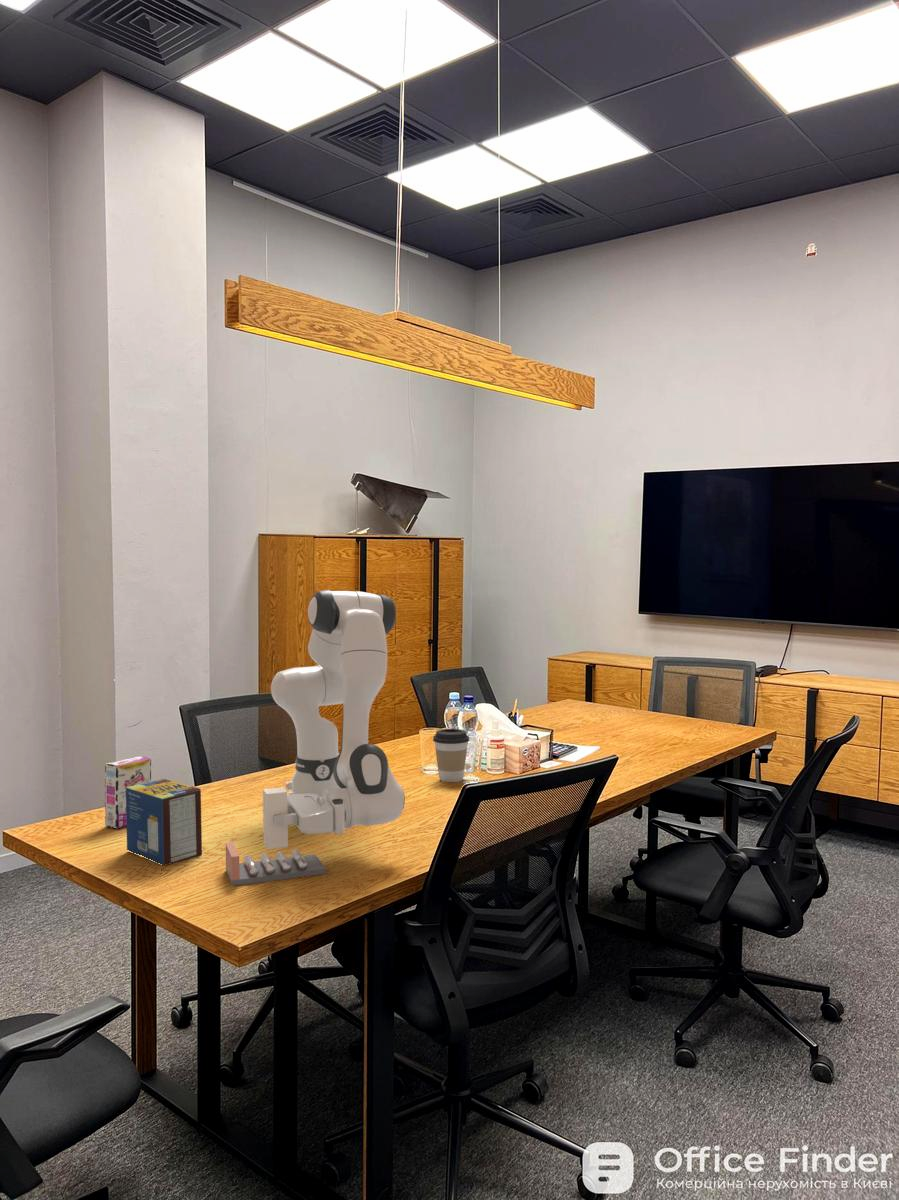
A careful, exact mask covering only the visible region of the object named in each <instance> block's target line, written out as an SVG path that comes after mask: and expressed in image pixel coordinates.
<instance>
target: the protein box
mask: <svg viewBox="0 0 899 1200" xmlns="http://www.w3.org/2000/svg"><path fill="white" fill-rule="evenodd" d="M126 823H127V826H126V851H127V850H129V851H131V852H133V853H136V854H139V855H142V856H144V857H146V858H148V859H151V860H153V861H155V862H157V863H160V864H162V865H165V864H168V865H170V864H169V863H172V864H174V863H173V862H175V863H177V862H176V861H178V862H180V861H185V860H188V859H190V858H194V857H197V856H200V855H202V854H203V843H202V842H203V841H202V839H203V837H202V831H203V829H202V789H201V788H198V787H195V786H191V785H187V784H183V783H180V782H177V781H172V780H169V779H166V778H162V779H158V780H153V781H152V780H151V782H148V783H143V784H139V785H134V786H129V787H126ZM184 859H185V860H184ZM157 863H156V864H157ZM162 865H161V866H162ZM165 866H166V865H165Z"/></svg>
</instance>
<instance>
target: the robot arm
mask: <svg viewBox="0 0 899 1200" xmlns="http://www.w3.org/2000/svg"><path fill="white" fill-rule="evenodd" d="M311 596H312V597H311V599H310V601H309V603H308V604H309V605H308V608H307V615H308V622H309V624H310V626H311V627H312V631H311V634H310V637H309V641H308V644H307V651H308V655H309V656H310V658H311V660H313V662H315V663H316V664H317V665H313V666H296V667H291V668H287V669H284V670H281V671H278V672H277V673H275V675H274V677H273V679H272V681H271V684H270V694H271V697H272V699H273V701H274V702H275V703H276V704H277V705H278V706H279V707H280V708H282V709H283V710H284V711H285V712H286V713H287V714H288V715H289V717H290V718H291V720H292V722H293V724H294V728H295V732H296V733H295V734H296V742H297V743H296V746H297V747H296V748H297V751H296V752H297V755H296V757H295V770H294V771H295V772H294V773H293V775H292V778H291V781H286V782H285V787H286V788H285V790H286V791H288V792H287V807H288V814H286V815H282V814H275V815H274V816H273V822H274V823H275V824H288V826H294V825H296V827H297V828H298V830H299V831H300V833H302V834H306V835H318V834H319V835H322V834H330V833H333V834H335V835H343V834H344V833H345V830H346V829H351V828H353V827H356V826H365V827H369V826H370V827H371V826H377V825H378V826H379V825H383V824H388V823H391V822H395V821H396V820H397V819H399V817H401V815H402V813H403V810H404V808H405V800H406V799H405V797H406V795H405V791H404V788H403V787H402V786H401V784H399V782H398V781H397V780H396V778H395V776H394V774H393V773H392V770H391V768H390V765H389V761H388V757H387V755H386V753H385V752H384V750H383V749H382V748H380V747H379V746H378V745H375V744H372V743H369V728H370V727H369V725H370V724H369V723H370V722H369V721H370V712H371V709H372V706H373V703H374V701H375V699H376V697H377V696H378V694H379V692H380V691H381V689H382V688H383V686H384V685H385V682H386V677H387V671H388V644H387V643H388V642H387V635H388V634H389V633H390V632H391V631H392V630H393V628H394V627H395V625H396V618H397V608H396V604H395V602H394V600H393V599H392V597H389V596H388V595H384V594H381V593H377V594H375V593H371V592H365V591H359V590H353V591H351V590H330V589H324V590H318V591H316V592H315V593H314V594H313V595H311ZM334 705H342V724H341V725H342V726H341V727H342V728H341V746H340V751H339V731H338V729H337V725H336V724H335V723H334V722H333V721H330V720H329V719H327V718H325V717H322V716H321V714H320V709H319V708H320V707H323V706H334ZM289 791H290V792H289Z"/></svg>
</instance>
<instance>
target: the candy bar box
mask: <svg viewBox="0 0 899 1200" xmlns="http://www.w3.org/2000/svg"><path fill="white" fill-rule="evenodd" d="M148 782H152V758H151V757H150V758H149V757H146V756H135V757H131V758H130V757H129V758H126V759H122V760H121V759H120V760H116V761H112V762H107V763H105V764H104V787H105V788H104V793H105V794H104V795H105V796H104V805H105V806H104V807H105V808H104V811H105V812H104V814H105V815H104V819H105V820H104V821H105V822H104V823H105V824H104V826H105V827H106V826H107V827H106V828H109V827H112V828H111V829H113V828H116V829H115V830H119V829H118V828H120V829H122V827H123V828H125V827H124V826H126V827H127V823H126V787H129V786H134V785H139V784H143V783H148Z"/></svg>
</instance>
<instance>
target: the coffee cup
mask: <svg viewBox="0 0 899 1200" xmlns="http://www.w3.org/2000/svg"><path fill="white" fill-rule="evenodd" d="M432 741H433V742H434V748H435V756H436V764H437V773H438V778H439V781H440V780H441V781H440V782H442V781H445V782H444V783H447V782H455V783H459V782H462V781H463V778H464V775H465V768H466V767H465V766H466V759H467V751H468V742H470V736H469V735H468V734H467V732H466V730H464V729H458V728H443V729H439V730H438V729H437V731H436V732H435V735H433V737H432Z"/></svg>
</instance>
